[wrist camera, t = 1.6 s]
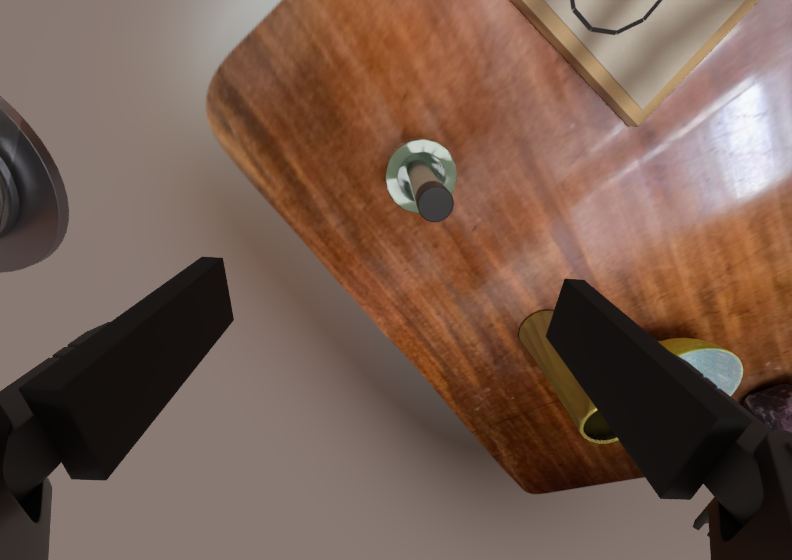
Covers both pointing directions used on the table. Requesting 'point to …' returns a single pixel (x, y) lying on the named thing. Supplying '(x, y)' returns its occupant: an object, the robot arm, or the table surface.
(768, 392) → the mineral specimen
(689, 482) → the robot arm
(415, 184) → the pen
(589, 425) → the vase
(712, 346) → the bowl
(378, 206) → the table surface
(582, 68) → the sketch board
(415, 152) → the pencil pot
